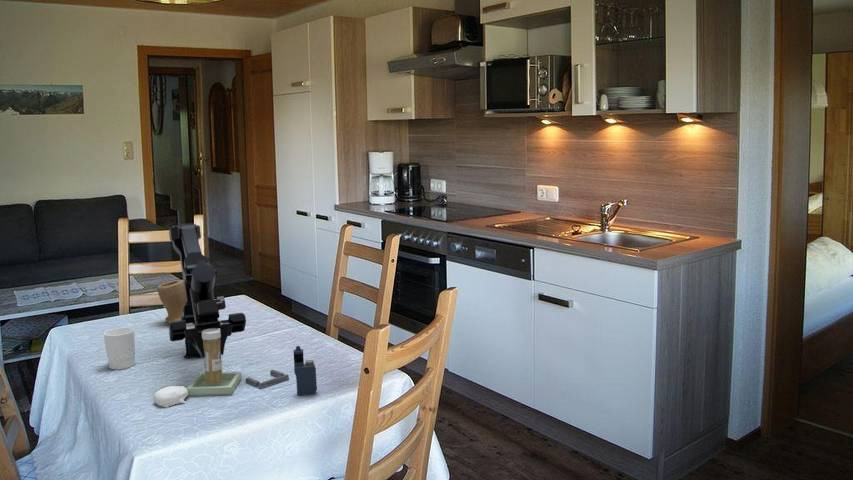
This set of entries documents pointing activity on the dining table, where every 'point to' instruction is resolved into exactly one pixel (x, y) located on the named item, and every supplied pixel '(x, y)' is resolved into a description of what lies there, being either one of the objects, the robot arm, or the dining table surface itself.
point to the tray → (214, 385)
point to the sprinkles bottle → (212, 355)
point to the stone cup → (173, 299)
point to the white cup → (120, 347)
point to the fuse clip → (279, 375)
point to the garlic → (170, 396)
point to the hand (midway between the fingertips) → (213, 355)
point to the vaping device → (304, 373)
